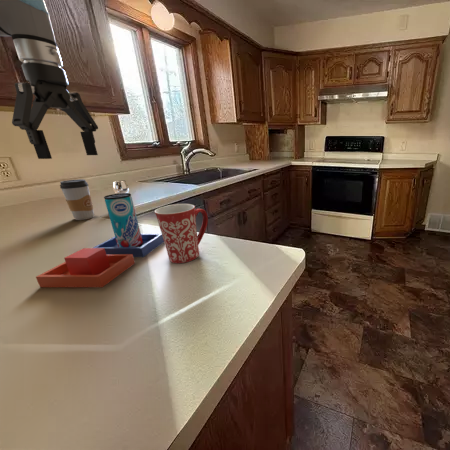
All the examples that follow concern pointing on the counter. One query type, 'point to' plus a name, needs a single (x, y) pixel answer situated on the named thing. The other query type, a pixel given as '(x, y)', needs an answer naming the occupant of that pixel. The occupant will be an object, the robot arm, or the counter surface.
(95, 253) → the red block
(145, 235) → the blue tray
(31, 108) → the robot arm
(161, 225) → the mug
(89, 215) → the coffee cup
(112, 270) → the red tray
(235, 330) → the counter surface
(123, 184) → the wineglass
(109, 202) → the beverage can
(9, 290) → the counter surface
